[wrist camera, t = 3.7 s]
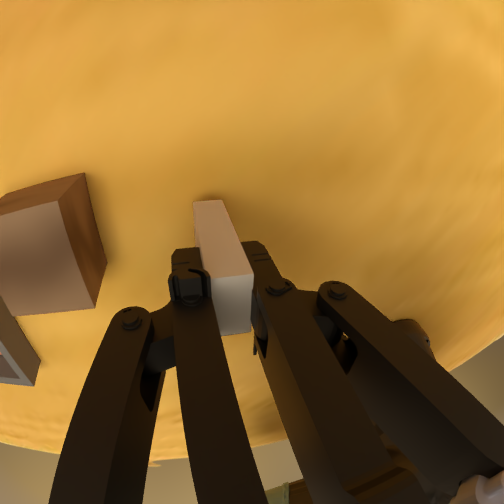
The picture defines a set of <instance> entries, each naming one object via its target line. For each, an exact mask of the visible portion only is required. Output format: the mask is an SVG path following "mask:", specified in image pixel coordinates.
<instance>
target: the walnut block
mask: <svg viewBox="0 0 504 504" xmlns="http://www.w3.org/2000/svg"><path fill="white" fill-rule="evenodd" d="M106 266H107V260H106V257H105V254H104V250H103V247H102V244H101V240H100V237H99V233H98V229H97V226H96V222H95V218H94V214H93V210H92V206H91V202H90V197H89V193H88V188H87V183H86V179H85V173H80V174H76V175H72V176H68V177H64V178H60V179H56V180H52V181H48V182H45V183H41V184H37V185H34V186H30V187H27V188H24V189H20V190H17V191H14V192H11V193H8V194H5V195H4V196H3V197H2V198H0V295H1V297H2V298H3V300H4V302H5V304H6V306H7V308H8V309H9V311H10V313H11V315H12V316H24V315H35V314H46V313H56V312H65V311H75V310H84V309H93V308H95V306H96V302H97V298H98V294H99V290H100V287H101V283H102V279H103V276H104V272H105V269H106Z"/></svg>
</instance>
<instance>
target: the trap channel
mask: <svg viewBox="0 0 504 504" xmlns="http://www.w3.org/2000/svg"><path fill="white" fill-rule="evenodd" d="M40 361H41V360H40V359H39V357H38V356H37V354H36V353H35V351H34V350H33V348H32V347H31V345H30V343H29V342H28V340H27V339H26V337H25V335H24V334H23V332H22V330H21V329H20V327H19V325H18V323H17V322H16V320H15V318H14V316H12V315H11V313H10V311H9V309H8V308H7V306H6V304H5V302H4V300H3V298H2V297H1V295H0V383H6V384H14V385H24V386H34V385H35V381H36V377H37V373H38V369H39V365H40Z"/></svg>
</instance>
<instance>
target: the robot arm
mask: <svg viewBox="0 0 504 504" xmlns="http://www.w3.org/2000/svg"><path fill="white" fill-rule="evenodd" d="M193 216H194V232H195V247H193V248H183V249H176V250H175V251H174V253H173V254H172V256H171V264H172V273H171V274H170V275H169V278H168V285H169V291H170V297H171V300H170V302H169V303H168V304H167V305H166V306H164V307H163V308H161V309H159V310H157V311H154V312H151V313H149V312H148V311H147V310H146V309H144V308H141V307H137V306H135V307H127V308H124V309H122V310H120V311H119V312H117V313H116V314H115V315H114V317H113V318H112V320H111V322H110V324H109V327H108V329H107V331H106V333H105V335H104V338H103V340H102V342H101V345H100V347H99V349H98V351H97V354H96V356H95V359H94V361H93V363H92V366H91V368H90V371H89V373H88V376H87V378H86V381H85V383H84V386H83V389H82V391H81V394H80V397H79V399H78V402H77V405H76V408H75V411H74V414H73V416H72V419H71V422H70V425H69V428H68V432H67V435H66V438H65V441H64V444H63V448H62V451H61V455H60V458H59V462H58V465H57V469H56V473H55V477H54V481H53V485H52V490H51V494H50V498H49V503H48V504H142V502H143V494H144V488H145V481H146V474H147V468H148V462H149V456H150V450H151V444H152V439H153V433H154V428H155V422H156V417H157V412H158V407H159V402H160V397H161V392H162V388H163V383H164V378H165V374H166V370H167V369H170V368H172V367H175V366H176V370H177V379H178V388H179V396H180V404H181V412H182V419H183V426H184V432H185V439H186V445H187V450H188V456H189V461H190V467H191V472H192V477H193V482H194V486H195V492H196V496H197V501H198V504H504V426H503V425H502V424H501V423H500V422H499V421H498V420H497V419H496V418H495V417H494V416H493V415H492V414H491V413H490V412H489V411H488V410H487V409H486V408H485V407H484V406H483V405H482V404H481V403H480V402H479V401H478V400H477V399H476V398H475V397H474V396H473V395H472V394H471V393H470V392H469V391H468V390H467V389H465V388H464V387H463V386H462V385H461V384H460V383H459V382H458V381H457V380H456V379H455V378H454V377H453V376H452V375H450V374H449V373H448V372H447V371H446V370H445V369H444V368H443V367H442V366H441V365H440V364H439V363H437V362H436V359H435V357H434V354H433V352H432V350H431V348H430V341H429V338H428V336H427V334H426V333H425V331H424V330H423V329H422V328H421V327H420V325H419V324H418V323H417V322H415V321H413V320H401V321H397V322H394V323H392V322H391V321H390V320H389V319H388V318H387V317H386V316H384V315H383V314H382V313H381V312H380V311H379V310H377V309H376V308H375V307H374V306H373V305H372V304H370V303H369V302H368V301H367V300H366V299H364V298H363V297H362V296H361V295H360V294H359V293H357V292H356V291H355V290H354V289H353V288H351V287H350V286H348V285H347V284H345V283H342V282H339V281H328V282H325V283H323V284H321V286H320V287H319V290H318V292H316V291H304V290H298V289H297V288H296V287H295V285H294V284H293V283H292V282H291V281H289V280H287V279H285V278H282V276H281V275H280V273H279V271H278V269H277V267H276V266H275V264H274V262H273V260H271V257H270V255H269V254H268V251H267V250H266V248H265V246H264V245H262V244H261V243H259V242H258V241H247V242H240V241H239V238H238V236H237V234H236V231H235V229H234V227H233V224H232V222H231V220H230V217H229V215H228V213H227V210H226V208H225V206H224V203H223V201H222V199H221V200H208V201H195V202H193ZM251 323H252V326H253V328H254V347H253V354H254V355H256V354H257V351H258V354H259V357H260V360H261V363H262V366H263V369H264V372H265V374H266V377H267V380H268V383H269V386H270V389H271V391H272V394H273V397H274V400H275V403H276V405H277V408H278V411H279V414H280V416H281V419H282V422H283V425H284V427H285V430H286V433H287V435H288V438H289V441H290V444H291V446H292V449H293V452H294V454H295V457H296V459H297V462H298V465H299V467H300V470H301V472H302V475H303V479H300V480H297V481H295V482H291V483H288V482H286V483H283V485H282V486H279V487H276V488H273V489H270V490H267V491H264V488H263V485H262V482H261V479H260V476H259V473H258V470H257V467H256V463H255V460H254V457H253V454H252V450H251V447H250V444H249V440H248V437H247V433H246V430H245V426H244V423H243V419H242V416H241V412H240V409H239V405H238V401H237V398H236V394H235V390H234V387H233V383H232V379H231V375H230V371H229V367H228V363H227V359H226V355H225V351H224V347H223V343H222V339H221V336H226V335H233V334H240V333H246V332H251ZM343 332H344V333H345V334H346V335H347V336H348V337H349V338H347V337H346V336H344V335H343Z"/></svg>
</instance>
